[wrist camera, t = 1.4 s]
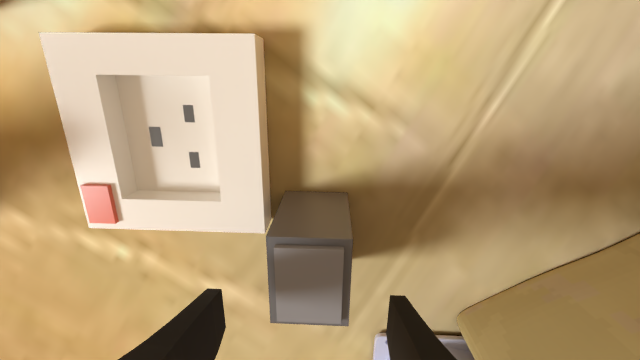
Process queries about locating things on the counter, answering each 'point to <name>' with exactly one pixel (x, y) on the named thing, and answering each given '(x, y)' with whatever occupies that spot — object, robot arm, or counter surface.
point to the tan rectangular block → (564, 312)
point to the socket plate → (165, 128)
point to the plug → (310, 259)
